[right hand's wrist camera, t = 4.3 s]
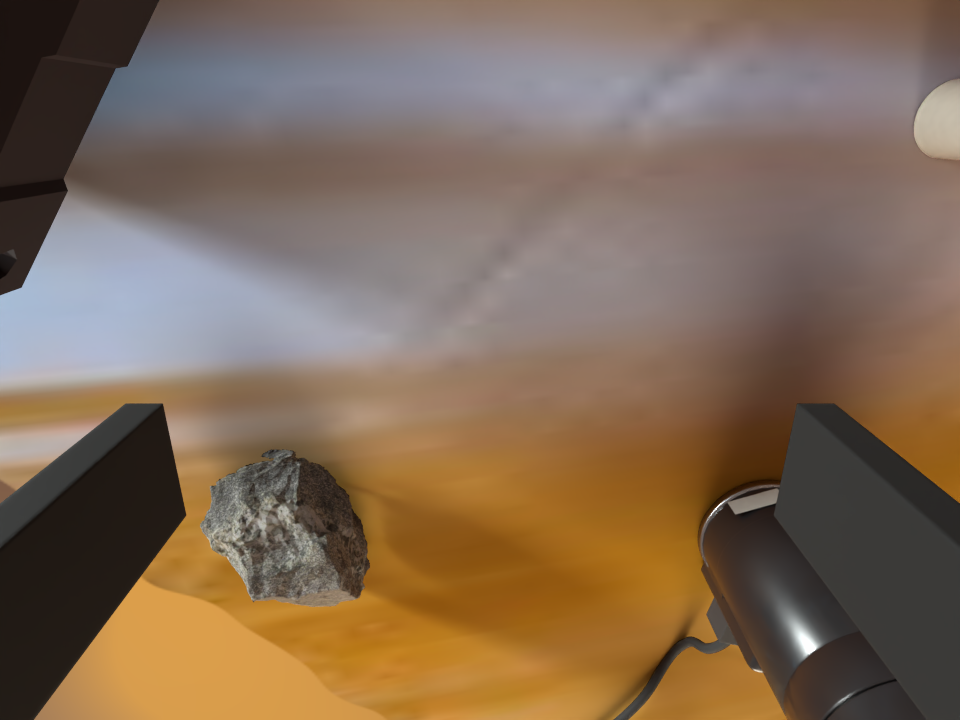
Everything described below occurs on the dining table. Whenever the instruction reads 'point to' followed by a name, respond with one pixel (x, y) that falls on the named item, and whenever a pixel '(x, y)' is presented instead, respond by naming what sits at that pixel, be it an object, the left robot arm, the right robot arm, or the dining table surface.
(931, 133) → the bottle
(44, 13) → the mechanical component
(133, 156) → the dining table surface
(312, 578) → the rock
